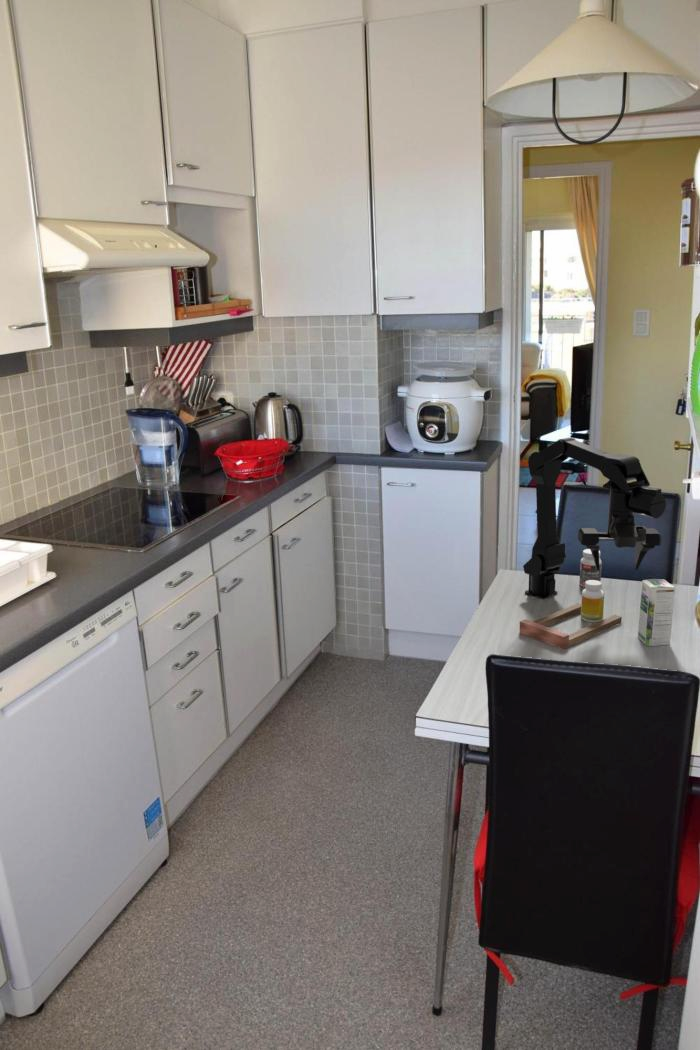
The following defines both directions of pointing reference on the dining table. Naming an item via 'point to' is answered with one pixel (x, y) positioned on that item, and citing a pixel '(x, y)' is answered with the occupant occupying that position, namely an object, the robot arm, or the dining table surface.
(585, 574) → the pill bottle
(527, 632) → the frame
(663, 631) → the syrup box
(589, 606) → the supplement bottle
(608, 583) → the dining table surface
